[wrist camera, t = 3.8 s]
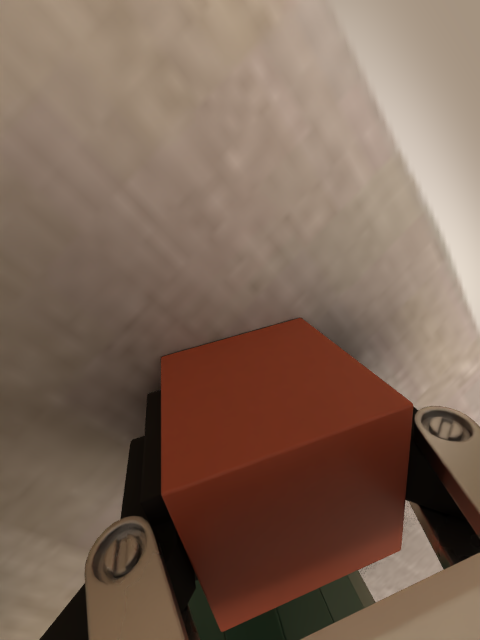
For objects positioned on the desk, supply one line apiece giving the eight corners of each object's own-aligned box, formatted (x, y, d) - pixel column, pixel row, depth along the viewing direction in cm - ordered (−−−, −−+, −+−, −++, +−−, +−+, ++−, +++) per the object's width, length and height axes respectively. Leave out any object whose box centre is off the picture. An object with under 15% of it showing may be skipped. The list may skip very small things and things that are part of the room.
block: (160, 355, 9) (160, 495, 5) (300, 316, 10) (415, 403, 6) (196, 463, 11) (220, 634, 7) (311, 423, 12) (402, 551, 8)
